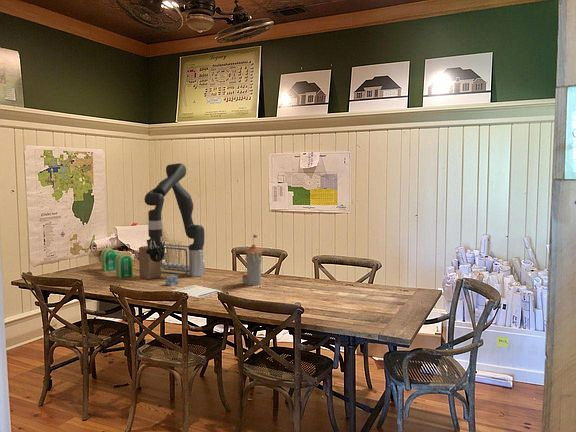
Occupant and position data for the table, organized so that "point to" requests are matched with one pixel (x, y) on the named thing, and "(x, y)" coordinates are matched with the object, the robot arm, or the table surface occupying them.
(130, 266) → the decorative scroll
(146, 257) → the block
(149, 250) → the controller
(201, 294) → the letter
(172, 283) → the cube
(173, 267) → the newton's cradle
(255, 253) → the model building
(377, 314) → the table surface
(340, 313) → the table surface
